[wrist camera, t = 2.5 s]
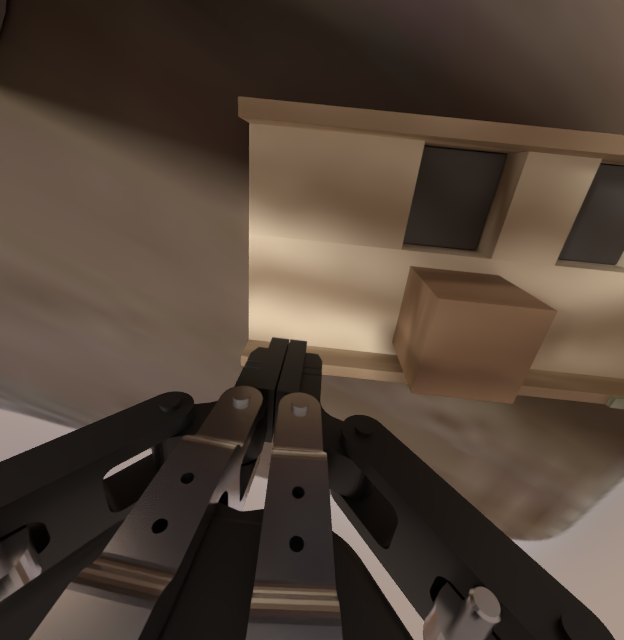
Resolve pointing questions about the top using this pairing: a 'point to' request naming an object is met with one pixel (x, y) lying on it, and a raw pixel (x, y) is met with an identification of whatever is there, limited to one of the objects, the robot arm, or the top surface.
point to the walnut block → (468, 334)
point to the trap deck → (433, 233)
